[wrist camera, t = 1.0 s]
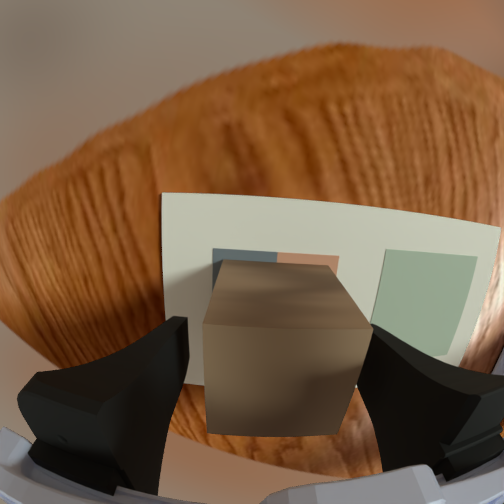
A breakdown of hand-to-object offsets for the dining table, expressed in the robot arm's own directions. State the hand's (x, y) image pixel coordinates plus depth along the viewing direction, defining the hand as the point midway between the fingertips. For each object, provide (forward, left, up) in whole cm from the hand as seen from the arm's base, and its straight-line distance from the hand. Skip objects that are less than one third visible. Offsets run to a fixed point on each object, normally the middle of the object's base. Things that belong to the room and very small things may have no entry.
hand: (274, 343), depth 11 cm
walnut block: (0, 0, -3) cm, 3 cm away
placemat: (-5, 0, -3) cm, 6 cm away
